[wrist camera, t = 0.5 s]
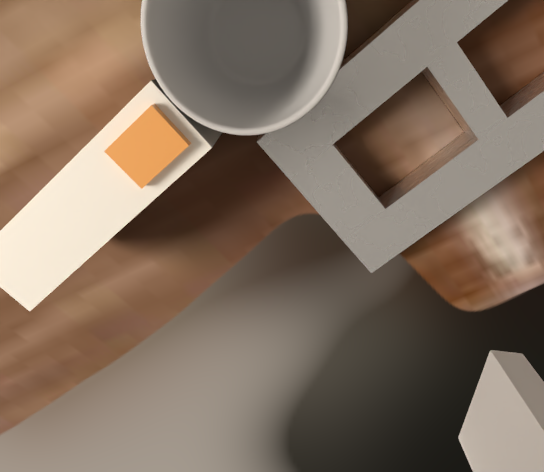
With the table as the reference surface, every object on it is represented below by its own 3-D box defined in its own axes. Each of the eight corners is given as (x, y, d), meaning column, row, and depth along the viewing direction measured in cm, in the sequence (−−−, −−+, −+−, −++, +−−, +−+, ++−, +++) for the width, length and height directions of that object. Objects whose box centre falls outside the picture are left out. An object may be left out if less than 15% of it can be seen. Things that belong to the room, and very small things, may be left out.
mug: (353, 61, 30) (384, 71, 21) (233, 132, 32) (212, 171, 23) (256, -139, 26) (240, -237, 17) (127, -44, 28) (48, -85, 19)
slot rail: (258, 134, 32) (256, 142, 30) (575, -143, 26) (604, -161, 23) (365, 257, 35) (371, 273, 33) (669, 38, 29) (702, 38, 27)
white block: (53, 202, 34) (-38, 266, 25) (191, 68, 30) (147, 81, 21) (95, 241, 35) (24, 317, 26) (233, 116, 32) (210, 150, 22)
